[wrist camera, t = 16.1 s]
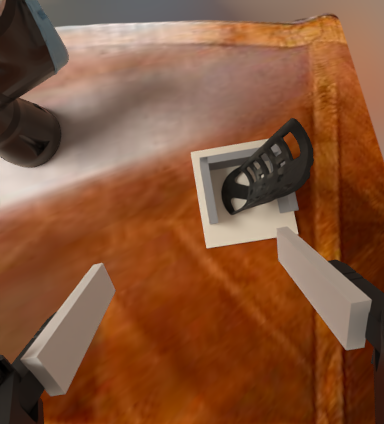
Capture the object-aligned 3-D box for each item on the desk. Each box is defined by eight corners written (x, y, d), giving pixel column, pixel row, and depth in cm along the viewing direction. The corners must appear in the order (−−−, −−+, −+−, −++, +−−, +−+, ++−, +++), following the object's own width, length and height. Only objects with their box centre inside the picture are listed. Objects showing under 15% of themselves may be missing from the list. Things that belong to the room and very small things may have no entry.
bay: (191, 153, 44) (189, 142, 38) (276, 139, 43) (288, 125, 37) (206, 247, 42) (207, 251, 36) (296, 233, 41) (312, 234, 35)
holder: (222, 165, 42) (259, 112, 22) (255, 167, 43) (320, 118, 23) (219, 214, 41) (255, 205, 21) (253, 216, 42) (318, 209, 22)
